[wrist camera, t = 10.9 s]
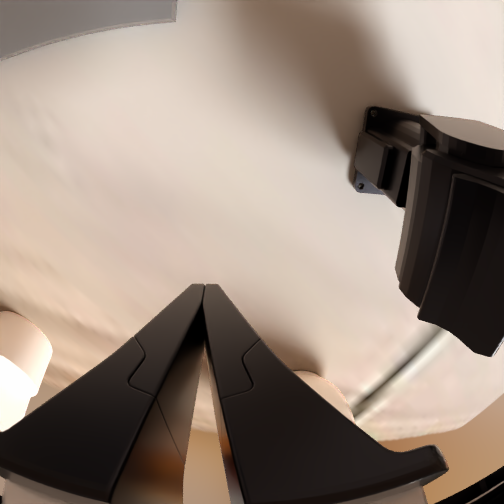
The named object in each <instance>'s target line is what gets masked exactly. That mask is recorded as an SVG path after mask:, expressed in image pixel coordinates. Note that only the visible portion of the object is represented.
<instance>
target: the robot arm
mask: <svg viewBox="0 0 504 504" xmlns="http://www.w3.org/2000/svg"><path fill="white" fill-rule="evenodd" d="M372 110H374V111H375V114H374V115H373V116H372V115H371V111H372ZM354 167H355V168H356V171H355V177H354V182H353V187H354V189H355V190H356V191H357V192H360V193H371V194H381V195H386V196H387V197H388V198H389V199H390V200H391V201H392V202H393V203H394V204H395V205H396V206H397V207H402V208H403V209H404V210H405V215H404V221H403V228H402V234H401V239H400V245H399V250H398V255H397V261H396V266H395V270H396V274H397V277H398V280H399V282H400V283H399V289H400V290H401V291H402V293H403V294H404V295H405V296H406V297H407V298H408V299H409V300H410V301H411V302H413V303H414V304H415V305H416V306H417V307H419V308H420V309H419V312H418V315H417V318H418V319H419V320H422V321H425V322H428V323H432V324H435V325H437V326H439V327H441V328H443V329H445V330H447V331H449V332H450V333H452V334H453V335H454V336H456V337H457V338H458V339H459V340H461V341H462V342H463V343H464V344H465V345H466V346H467V347H468V348H470V349H471V350H472V351H473V352H474V353H477V354H480V355H484V356H487V357H492V356H494V355H495V354H496V352H497V351H498V349H499V347H500V346H501V344H502V343H503V341H504V130H502V129H499V128H497V127H494V126H491V125H488V124H485V123H482V122H479V121H475V120H468V119H461V118H453V117H444V116H434V115H423V114H420V115H419V116H416V115H413V114H409V113H404V112H400V111H396V110H391V109H387V108H382V107H377V106H368V107H367V108H366V111H365V117H364V124H363V130H362V132H361V133H360V134H359V139H358V145H357V151H356V157H355V162H354ZM360 183H362V186H361V187H358V185H359V184H360ZM204 348H205V349H206V357H207V365H208V372H209V379H210V386H211V393H212V399H213V406H214V412H215V418H216V424H217V430H218V436H219V442H220V447H221V453H222V458H223V463H224V468H225V474H226V479H227V485H228V490H229V495H230V501H231V504H428V503H427V499H426V496H425V492H424V489H423V486H424V485H426V484H428V483H430V482H431V481H433V480H435V479H437V478H438V477H440V476H442V475H443V474H445V473H446V472H447V471H448V470H449V467H448V465H447V462H446V459H445V457H444V456H443V454H442V452H441V450H440V449H439V447H438V446H437V445H426V446H422V447H419V448H416V449H413V450H410V451H405V452H394V451H391V450H388V449H387V448H385V447H383V446H382V445H381V444H379V443H378V442H377V441H376V440H374V439H373V438H372V437H371V436H369V435H368V434H367V433H365V432H364V431H363V430H362V429H360V428H359V427H358V426H357V425H355V424H354V423H353V422H352V421H351V420H349V419H348V418H347V417H346V416H344V415H343V414H342V413H341V412H340V411H338V410H337V409H336V408H335V407H334V406H332V405H331V404H330V403H329V402H328V401H326V400H325V399H324V398H323V397H322V396H321V395H319V394H318V393H317V392H316V391H315V390H314V389H312V388H311V387H310V386H309V385H308V384H307V383H305V382H304V381H303V380H302V379H301V378H300V377H299V376H297V375H296V374H295V373H294V372H293V371H292V370H291V369H289V368H288V367H287V366H286V365H285V364H284V363H283V362H282V361H281V360H280V359H279V358H278V357H277V356H276V355H275V354H274V353H273V352H272V350H271V349H270V348H269V347H268V346H267V345H266V343H265V342H264V341H263V340H261V338H260V336H259V335H258V334H257V333H256V332H255V330H254V329H253V328H252V327H251V325H250V324H249V323H248V322H247V320H246V319H245V318H244V317H243V315H242V314H241V313H240V312H239V310H238V309H237V308H236V306H235V305H234V304H233V303H232V301H231V300H230V299H229V298H228V296H227V295H226V294H225V292H224V291H223V290H222V289H221V287H220V286H219V285H218V284H206V285H204V284H192V285H190V286H189V287H188V288H187V289H186V290H185V291H184V292H182V293H181V294H180V295H179V296H178V297H177V298H176V299H175V300H173V301H172V302H171V303H170V304H169V305H168V306H167V307H166V308H164V309H163V310H162V311H161V312H160V313H159V314H158V315H157V316H155V317H154V318H153V319H152V320H151V321H150V322H149V323H148V324H147V325H145V326H144V327H143V328H142V329H141V330H140V331H139V332H138V333H137V334H135V335H134V337H132V338H130V339H129V340H128V341H127V342H126V343H125V344H124V345H122V346H121V347H120V348H119V349H118V350H117V351H115V352H114V353H113V354H112V355H110V356H109V357H108V358H106V359H105V360H104V361H102V362H101V363H100V364H98V365H97V366H96V367H94V368H93V369H91V370H90V371H89V372H87V373H86V374H84V375H83V376H82V377H80V378H79V379H77V380H76V381H75V382H73V383H72V384H70V385H69V386H68V387H66V388H65V389H63V390H62V391H61V392H59V393H58V394H56V395H55V396H54V397H52V398H51V399H49V400H48V401H47V402H45V403H44V404H42V405H41V406H40V407H38V408H37V409H35V410H34V411H33V412H31V413H30V414H29V415H27V416H25V417H24V418H23V419H21V420H20V421H18V422H17V423H16V424H14V425H13V426H11V427H10V428H9V429H7V430H5V431H3V432H0V476H1V477H3V478H5V485H4V489H3V495H2V496H0V504H183V476H184V468H185V461H186V455H187V449H188V442H189V436H190V430H191V424H192V418H193V412H194V406H195V400H196V394H197V388H198V383H199V377H200V371H201V366H202V360H203V354H204ZM435 504H504V466H503V467H501V468H500V469H498V470H497V471H495V472H493V473H492V474H490V475H489V476H487V477H485V478H484V479H482V480H480V481H478V482H477V483H475V484H473V485H471V486H469V487H468V488H466V489H464V490H462V491H460V492H458V493H456V494H454V495H452V496H450V497H448V498H446V499H444V500H441V501H439V502H437V503H435Z"/></svg>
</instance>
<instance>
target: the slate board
mask: <svg viewBox="0 0 504 504" xmlns="http://www.w3.org/2000/svg"><path fill="white" fill-rule="evenodd" d="M176 7H177V0H0V61H2V60H4V59H7V58H9V57H12V56H15V55H17V54H20V53H23V52H26V51H29V50H32V49H35V48H38V47H41V46H44V45H48V44H51V43H54V42H58V41H62V40H65V39H69V38H73V37H77V36H82V35H86V34H91V33H95V32H100V31H106V30H111V29H117V28H124V27H130V26H138V25H146V24H156V23H167V22H176Z"/></svg>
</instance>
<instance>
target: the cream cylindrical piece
mask: <svg viewBox="0 0 504 504" xmlns="http://www.w3.org/2000/svg"><path fill="white" fill-rule="evenodd" d="M51 355H52V346H51V344H50V342H49V340H48V339H47V337H46V336H45V335H44V333H43V332H42V331H41V330H40V329H39V328H38V327H37V326H35V325H34V324H33V323H32V322H30V321H29V320H27V319H26V318H24V317H23V316H21V315H18V314H16V313H14V312H10V311H1V312H0V431H2V432H3V431H5V430H7V429H9V428H10V427H11V426H13V425H14V424H16V423H17V422H18V421H20V420H21V419H23V418H24V415H25V412H26V409H27V406H28V403H29V400H30V398H31V397H32V396H35V395H37V392H38V390H39V387H40V384H41V381H42V379H43V376H44V373H45V371H46V368H47V366H48V363H49V361H50V358H51Z"/></svg>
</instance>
